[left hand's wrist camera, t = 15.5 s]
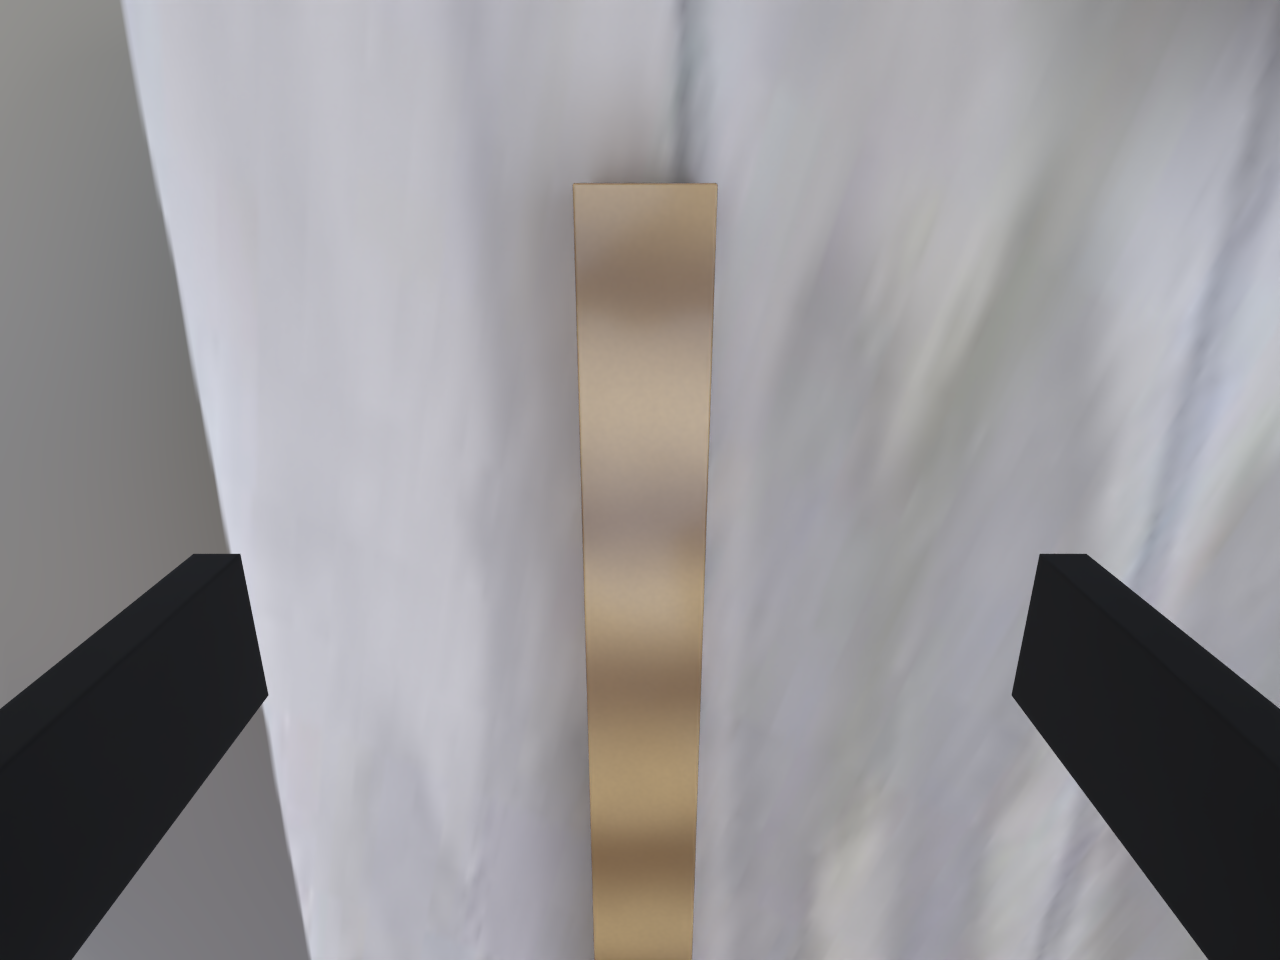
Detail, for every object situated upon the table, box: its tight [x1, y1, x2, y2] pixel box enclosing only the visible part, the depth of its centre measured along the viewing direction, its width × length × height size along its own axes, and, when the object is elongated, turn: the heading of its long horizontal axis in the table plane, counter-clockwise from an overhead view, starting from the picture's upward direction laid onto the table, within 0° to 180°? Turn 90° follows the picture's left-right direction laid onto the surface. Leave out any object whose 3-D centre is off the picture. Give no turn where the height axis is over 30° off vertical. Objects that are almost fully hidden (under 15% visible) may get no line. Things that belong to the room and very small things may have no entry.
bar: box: [573, 183, 718, 960], centre depth 41 cm, size 61×5×8 cm, turn 0°
